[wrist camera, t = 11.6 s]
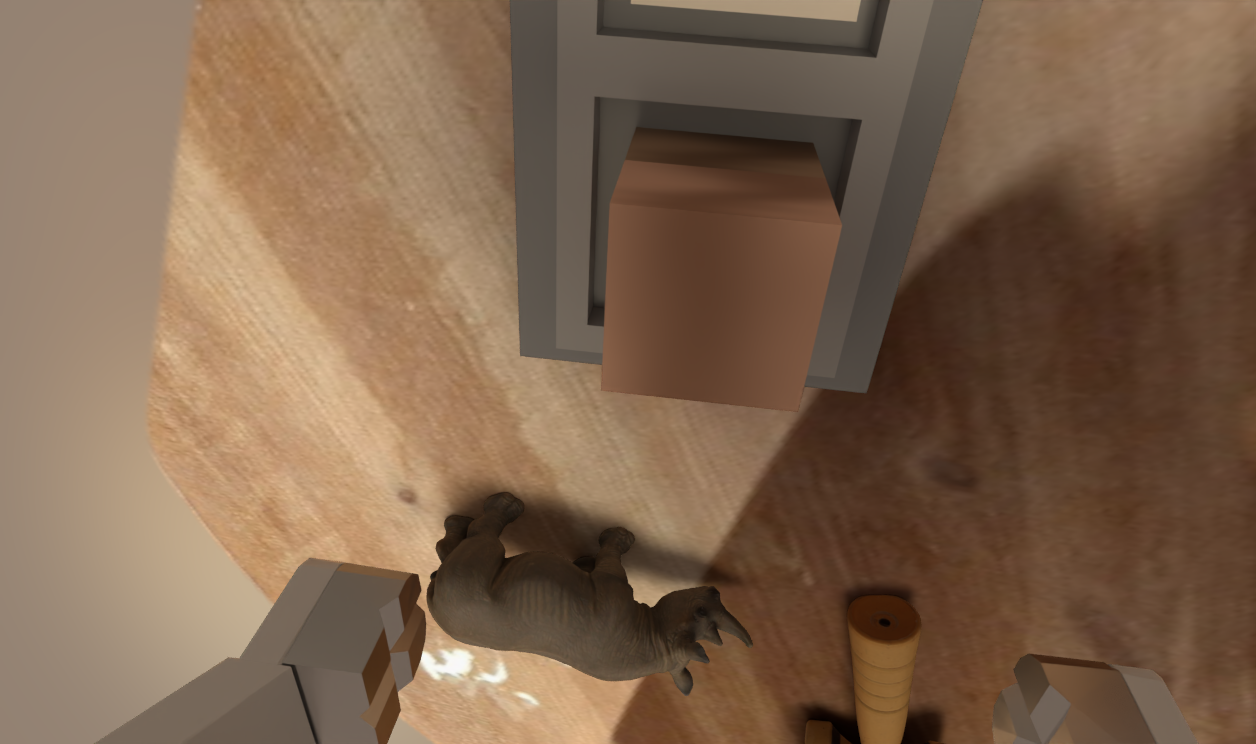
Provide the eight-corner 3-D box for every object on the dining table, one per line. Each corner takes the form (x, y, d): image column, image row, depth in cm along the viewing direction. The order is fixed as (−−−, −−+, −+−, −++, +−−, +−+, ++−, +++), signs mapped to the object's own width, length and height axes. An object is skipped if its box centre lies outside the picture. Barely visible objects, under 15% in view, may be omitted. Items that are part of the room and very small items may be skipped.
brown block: (813, 142, 21) (842, 225, 16) (781, 299, 23) (797, 411, 18) (636, 127, 21) (610, 203, 16) (626, 284, 24) (600, 390, 19)
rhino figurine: (731, 617, 34) (733, 743, 29) (442, 537, 33) (392, 654, 28) (765, 560, 32) (773, 687, 27) (455, 473, 31) (403, 587, 26)
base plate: (861, 376, 26) (882, 449, 22) (526, 341, 26) (498, 406, 23) (1099, -448, 15) (1209, -545, 11) (507, -474, 15) (448, -574, 12)
